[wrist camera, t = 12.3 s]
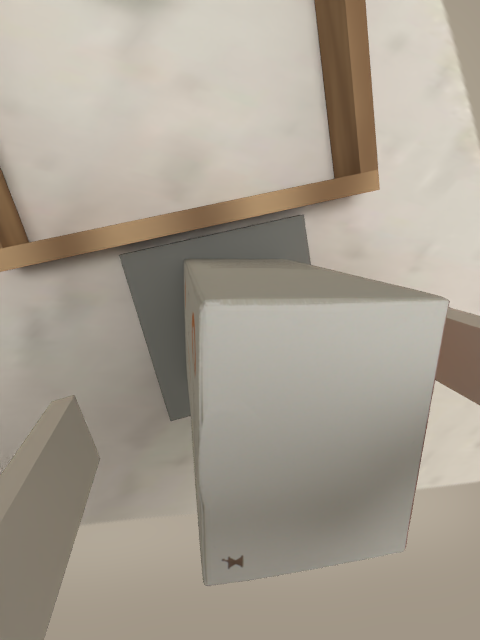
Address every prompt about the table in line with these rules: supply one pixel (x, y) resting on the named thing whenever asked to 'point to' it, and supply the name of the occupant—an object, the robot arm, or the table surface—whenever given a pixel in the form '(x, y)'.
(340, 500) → the small box
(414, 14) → the table surface
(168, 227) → the bin
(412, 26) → the table surface
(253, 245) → the mat
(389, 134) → the table surface
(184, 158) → the table surface
